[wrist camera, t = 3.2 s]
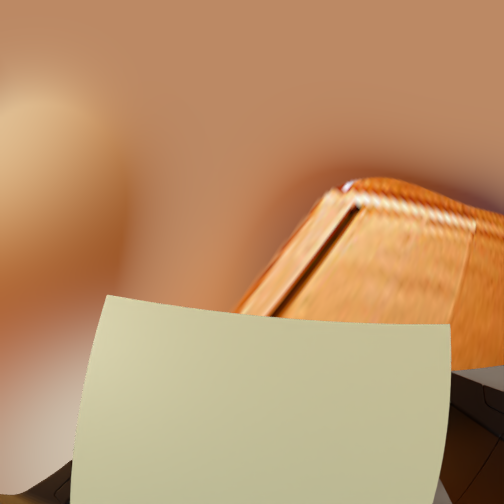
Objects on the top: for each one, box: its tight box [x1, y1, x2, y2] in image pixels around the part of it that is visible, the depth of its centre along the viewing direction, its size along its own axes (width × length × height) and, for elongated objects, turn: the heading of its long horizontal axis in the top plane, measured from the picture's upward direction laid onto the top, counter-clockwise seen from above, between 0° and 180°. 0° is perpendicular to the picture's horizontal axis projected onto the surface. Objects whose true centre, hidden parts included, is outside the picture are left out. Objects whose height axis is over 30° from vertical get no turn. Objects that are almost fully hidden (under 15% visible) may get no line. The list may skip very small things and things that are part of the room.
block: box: [70, 295, 451, 504], centre depth 8 cm, size 4×4×13 cm
